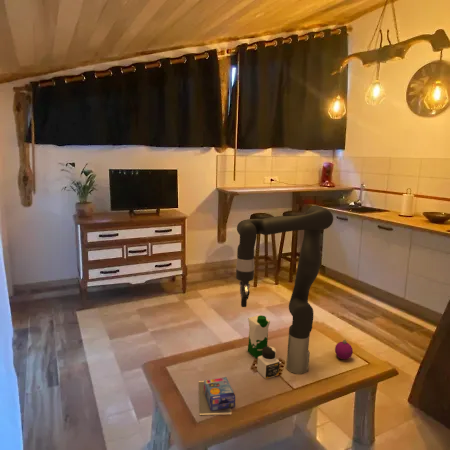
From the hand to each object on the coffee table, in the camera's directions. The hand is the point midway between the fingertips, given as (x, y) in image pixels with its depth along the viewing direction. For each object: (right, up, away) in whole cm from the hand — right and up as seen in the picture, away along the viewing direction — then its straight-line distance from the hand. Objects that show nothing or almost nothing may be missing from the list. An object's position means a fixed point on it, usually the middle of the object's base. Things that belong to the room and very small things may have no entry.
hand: (243, 306), depth 158 cm
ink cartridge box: (-12, -30, -6) cm, 33 cm away
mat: (-12, -34, -10) cm, 38 cm away
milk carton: (+8, -28, +23) cm, 37 cm away
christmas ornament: (+49, -30, +20) cm, 61 cm away
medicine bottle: (+11, -32, +7) cm, 34 cm away
